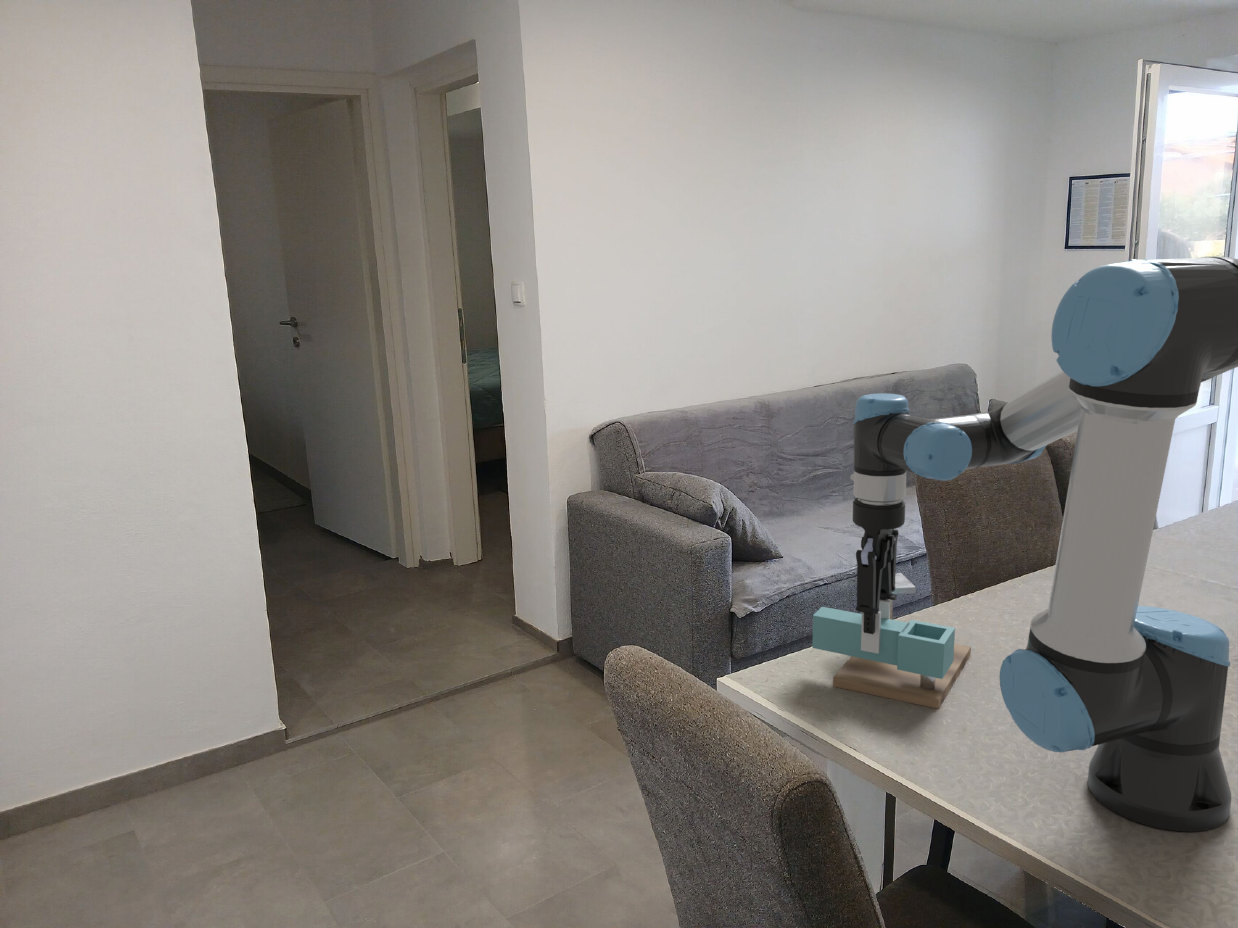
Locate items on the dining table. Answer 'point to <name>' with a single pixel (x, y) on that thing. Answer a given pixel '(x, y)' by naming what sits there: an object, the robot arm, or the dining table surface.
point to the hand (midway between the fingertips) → (875, 644)
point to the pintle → (927, 682)
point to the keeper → (901, 588)
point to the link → (888, 641)
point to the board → (898, 679)
